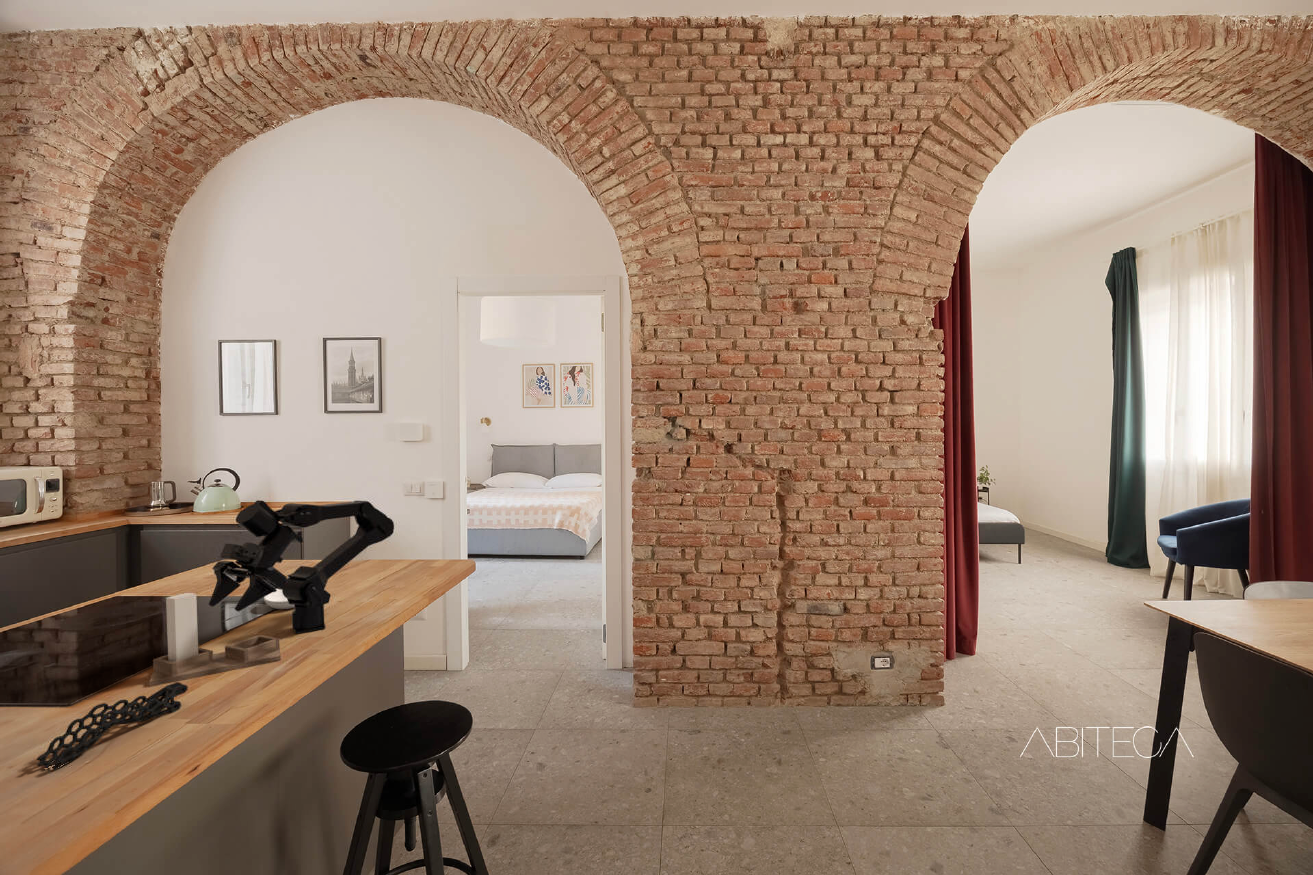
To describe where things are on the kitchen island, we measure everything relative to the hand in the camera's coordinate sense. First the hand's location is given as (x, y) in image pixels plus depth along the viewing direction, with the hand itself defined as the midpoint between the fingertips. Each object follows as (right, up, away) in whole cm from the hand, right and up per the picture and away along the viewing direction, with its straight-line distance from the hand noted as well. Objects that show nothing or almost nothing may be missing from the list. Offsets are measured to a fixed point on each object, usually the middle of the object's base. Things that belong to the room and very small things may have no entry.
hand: (223, 608), depth 133 cm
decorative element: (+6, -12, -32) cm, 35 cm away
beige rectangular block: (-3, -10, -7) cm, 13 cm away
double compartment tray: (+2, -11, -4) cm, 12 cm away
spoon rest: (-10, -10, +43) cm, 46 cm away
